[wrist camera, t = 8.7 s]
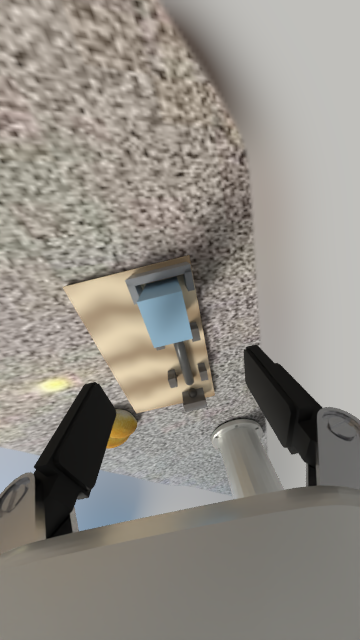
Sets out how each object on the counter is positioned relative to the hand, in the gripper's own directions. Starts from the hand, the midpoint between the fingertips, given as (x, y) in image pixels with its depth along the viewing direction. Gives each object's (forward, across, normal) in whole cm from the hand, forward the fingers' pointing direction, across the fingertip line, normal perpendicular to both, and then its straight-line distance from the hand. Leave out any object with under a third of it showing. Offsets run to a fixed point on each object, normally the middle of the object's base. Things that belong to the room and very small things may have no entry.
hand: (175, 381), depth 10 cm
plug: (+13, 0, +5) cm, 14 cm away
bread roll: (+14, +18, +22) cm, 32 cm away
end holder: (+13, 0, -4) cm, 13 cm away
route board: (+14, +4, +7) cm, 16 cm away
